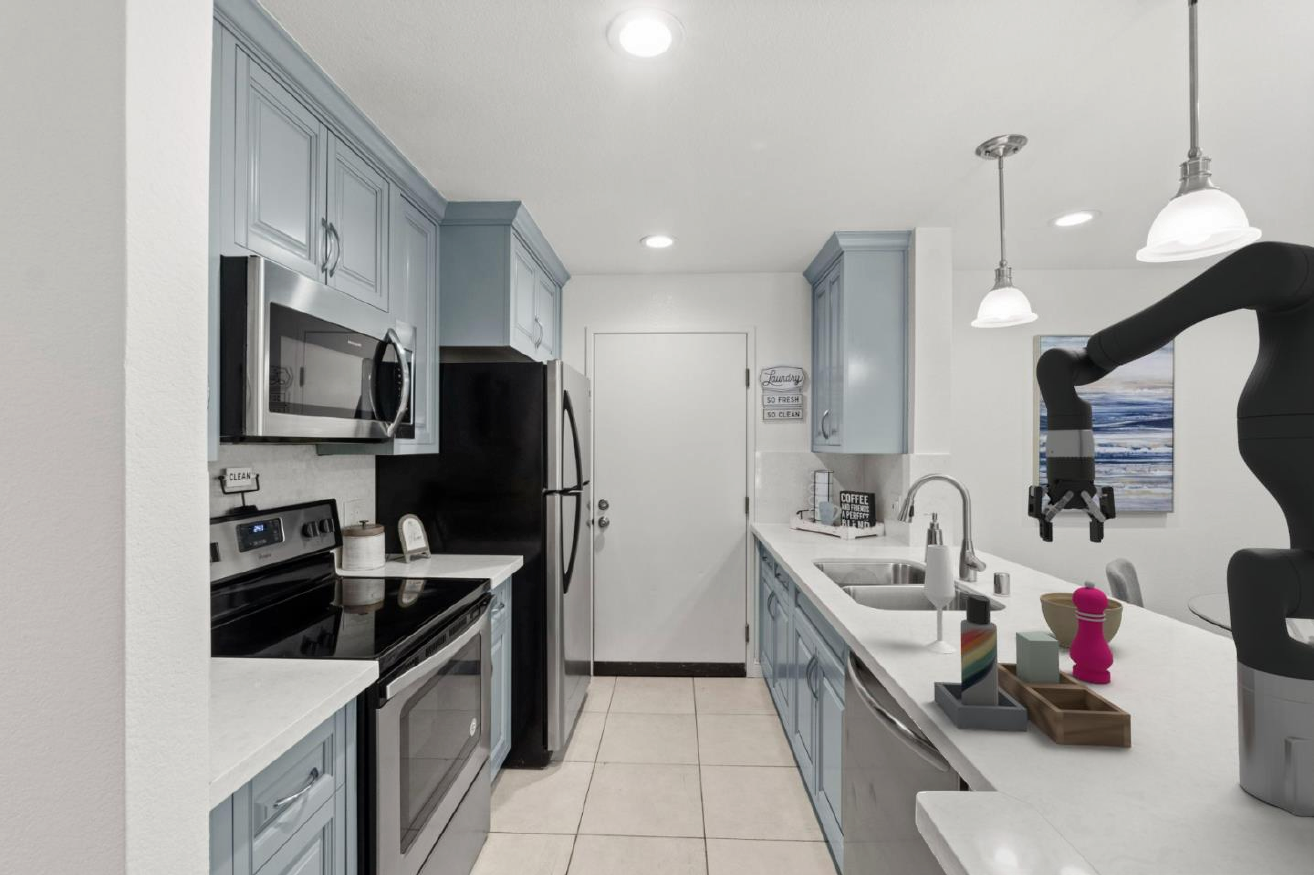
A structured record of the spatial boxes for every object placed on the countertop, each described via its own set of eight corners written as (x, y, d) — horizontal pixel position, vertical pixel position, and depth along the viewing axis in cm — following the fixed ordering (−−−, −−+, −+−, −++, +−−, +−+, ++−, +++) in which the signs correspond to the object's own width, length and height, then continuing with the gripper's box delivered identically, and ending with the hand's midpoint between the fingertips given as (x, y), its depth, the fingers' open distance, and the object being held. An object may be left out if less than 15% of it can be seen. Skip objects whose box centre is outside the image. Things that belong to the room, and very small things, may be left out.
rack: (1131, 746, 94) (1130, 714, 94) (1057, 743, 95) (1056, 711, 95) (1052, 690, 116) (1052, 664, 116) (993, 688, 117) (992, 662, 117)
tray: (1027, 731, 99) (1027, 709, 99) (958, 728, 100) (958, 707, 100) (996, 703, 110) (996, 683, 110) (934, 700, 111) (934, 681, 111)
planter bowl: (1055, 631, 153) (1054, 588, 153) (1133, 647, 140) (1132, 601, 140) (1029, 643, 143) (1028, 598, 143) (1111, 662, 130) (1110, 613, 131)
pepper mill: (1121, 686, 118) (1119, 584, 118) (1080, 683, 119) (1078, 583, 119) (1101, 672, 125) (1100, 576, 125) (1063, 670, 126) (1061, 575, 127)
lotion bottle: (966, 699, 109) (964, 590, 109) (1001, 708, 105) (999, 595, 106) (958, 710, 105) (956, 596, 105) (994, 719, 101) (992, 601, 101)
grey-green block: (1059, 707, 108) (1058, 641, 108) (1030, 706, 108) (1029, 640, 109) (1044, 696, 113) (1043, 632, 113) (1016, 695, 113) (1015, 632, 114)
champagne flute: (918, 646, 141) (917, 545, 142) (935, 642, 145) (934, 543, 145) (945, 655, 136) (943, 549, 136) (962, 649, 139) (960, 546, 140)
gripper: (1041, 455, 108) (1043, 544, 108) (1124, 454, 107) (1126, 545, 106) (1019, 454, 115) (1021, 538, 115) (1096, 454, 114) (1098, 539, 114)
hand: (1071, 541), depth 111 cm, fingers open, 8 cm apart
